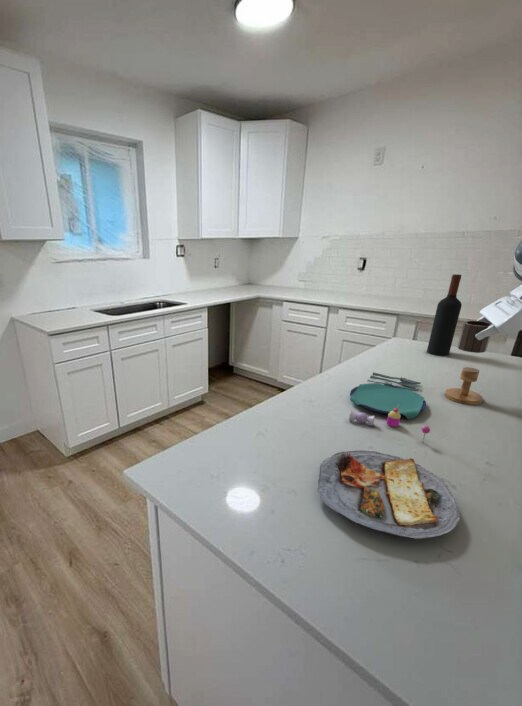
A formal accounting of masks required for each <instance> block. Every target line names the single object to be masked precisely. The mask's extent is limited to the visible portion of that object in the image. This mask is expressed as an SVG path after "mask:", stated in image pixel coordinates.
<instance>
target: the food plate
mask: <svg viewBox="0 0 522 706" xmlns="http://www.w3.org/2000/svg"><path fill="white" fill-rule="evenodd" d="M317 481H318V482H317V485H318V486H317V489H316V490H317V491H316V492H317V494H318V496H319V497H320V499H321V501H323V503H324V504H325V505H326V506H327V507H328V508H329V509H331V510H333V511H334V512H336V513H339V514H341V515H342V516H344V517H345V518H347V519H348V520H350V521H352V522H354V523H356V524H358V525H362V526H364V527H366V528H369V529H372V530H375V531H379V532H383V533H385V534H390V535H392V536H399V537H405V538H411V539H416V540H420V539H427V538H434V537H438V536H442V535H445V534H447V533H449V532H451V531H453V530H454V529H455V528H456V526H457V525H458V523H459V522H460V520H461V517H460V516H461V513H460V509H459V507H458V505H457V502H456V499H455V497H454V495H453V493H452V491H451V489H450V487H449V485H448V484H447V483H446V482H445V481H443V479H441V478H440V477H439V476H437V475H435V473H433V472H431V471H429V470H427V469H425V468H424V467H423V466H421V465H420V464H417V463H416V461H415V459H414V458H407V459H404V458H402V457H399V456H396V455H391V454H387V453H383V452H378V451H373V450H372V451H371V450H348V451H340V452H336V453H335V454H333V455H331V456H328V457H327V458H325V459H324V460H323V461H321V463H320V466H319V475H318V480H317Z"/></svg>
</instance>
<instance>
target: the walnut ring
mask: <svg viewBox="0 0 522 706" xmlns="http://www.w3.org/2000/svg"><path fill="white" fill-rule="evenodd" d="M491 325H492V323H488V322H483V321H477V320H464V321H463V324H462V327H461V331H460V335H459V339H458V343H457V347H456V348H457V349H458V350H459V351H464V352H468V353H475V354H483V353H485V352H487V351H488V346H489V343H490V340H491V337H492V335H491V336H488V337H485V338H483V339H481V340H478V339H477V338H476V337H475V336H474V335H475V334H476V333H477V332H479V331H483V330H485V329H487V328H488V327H489V326H491Z"/></svg>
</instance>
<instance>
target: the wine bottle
mask: <svg viewBox="0 0 522 706" xmlns="http://www.w3.org/2000/svg"><path fill="white" fill-rule="evenodd" d="M461 279H462V274H456V273H455V274H452V275H451V279H450V283H449V288H448V290H447V291H448V292H447V295H446V296H445V297H444V298H442V299H440V300H439V302H438V303H437V306H436V310H435V313H434V318H433V324H432V326H431V327H432V328H431V332H430V335H429V341H428V344H427V348H426V353H427V354H429V355H433V356H438V357H447V356H449V355H450V352H451V348H452V345H453V341H454V336H455V332H456V329H457V325H458V321H459V317H460V313H461V310H462V306H463V305H462V301H461V300H459V298H458V297H457V296H458V290H459V286H460V284H461V283H460V282H461Z"/></svg>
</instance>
